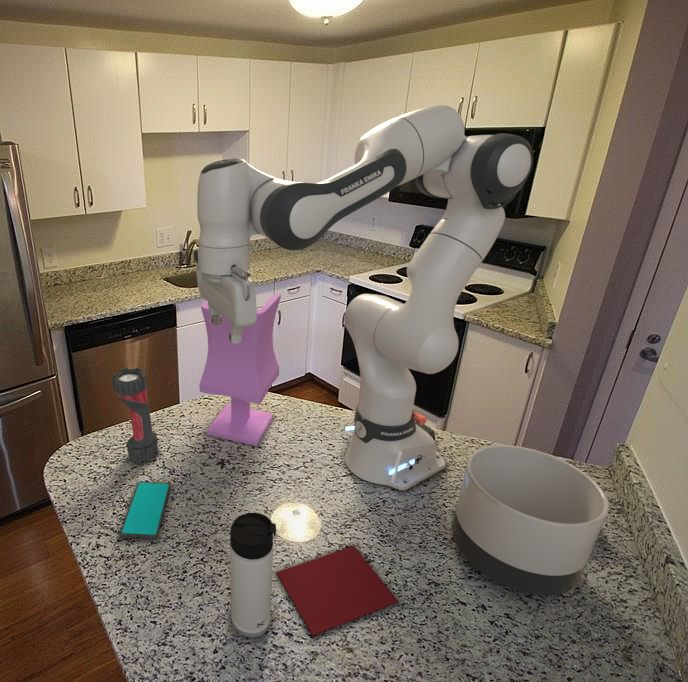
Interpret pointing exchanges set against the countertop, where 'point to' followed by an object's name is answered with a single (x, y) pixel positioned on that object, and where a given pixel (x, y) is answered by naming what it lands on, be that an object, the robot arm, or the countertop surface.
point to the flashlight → (137, 413)
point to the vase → (241, 374)
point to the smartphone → (146, 511)
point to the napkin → (335, 589)
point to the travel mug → (251, 573)
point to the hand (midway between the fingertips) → (225, 332)
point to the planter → (528, 518)
